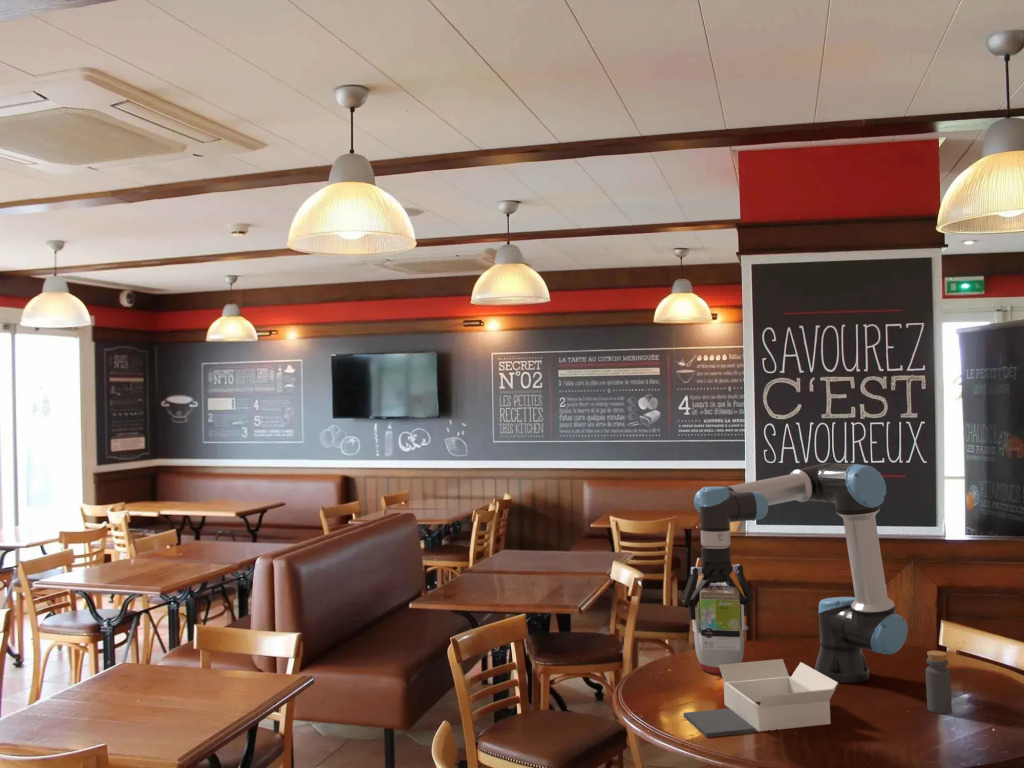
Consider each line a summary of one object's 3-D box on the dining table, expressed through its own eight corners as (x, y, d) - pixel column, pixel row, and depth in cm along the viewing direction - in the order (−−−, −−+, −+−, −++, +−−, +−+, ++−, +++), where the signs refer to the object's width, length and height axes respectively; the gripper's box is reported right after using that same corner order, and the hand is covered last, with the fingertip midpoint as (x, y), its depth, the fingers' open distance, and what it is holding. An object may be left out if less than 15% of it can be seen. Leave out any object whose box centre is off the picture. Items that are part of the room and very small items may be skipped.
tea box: (742, 651, 212) (740, 591, 212) (701, 650, 213) (699, 591, 214) (736, 636, 226) (734, 580, 227) (697, 635, 228) (696, 580, 229)
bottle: (950, 707, 225) (947, 650, 226) (953, 715, 220) (950, 656, 220) (925, 705, 227) (923, 649, 228) (929, 713, 222) (926, 655, 222)
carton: (795, 692, 241) (793, 657, 241) (849, 727, 214) (847, 687, 214) (719, 700, 237) (718, 664, 237) (765, 736, 210) (763, 695, 210)
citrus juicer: (760, 673, 259) (757, 607, 260) (708, 679, 255) (705, 612, 256) (735, 659, 274) (733, 597, 275) (686, 664, 270) (683, 601, 271)
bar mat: (729, 711, 227) (729, 708, 227) (755, 732, 213) (754, 728, 213) (683, 716, 225) (683, 712, 225) (706, 737, 210) (706, 733, 210)
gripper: (677, 550, 215) (680, 637, 214) (765, 546, 219) (768, 630, 219) (666, 546, 222) (669, 630, 222) (752, 542, 227) (755, 623, 226)
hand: (718, 630), depth 220 cm, fingers closed on tea box, 12 cm apart
